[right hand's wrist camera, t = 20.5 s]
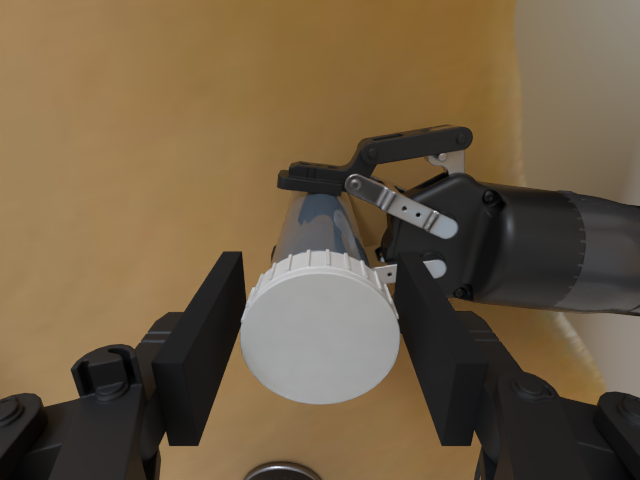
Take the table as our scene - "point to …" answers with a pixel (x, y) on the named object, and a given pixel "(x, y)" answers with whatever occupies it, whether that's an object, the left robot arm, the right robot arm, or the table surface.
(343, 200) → the bottle
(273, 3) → the table surface
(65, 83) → the table surface
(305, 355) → the lid
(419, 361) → the right robot arm
